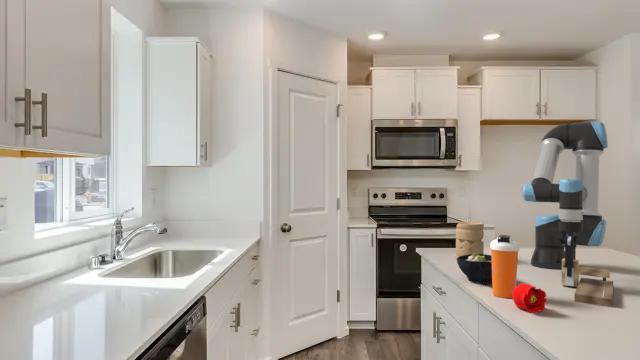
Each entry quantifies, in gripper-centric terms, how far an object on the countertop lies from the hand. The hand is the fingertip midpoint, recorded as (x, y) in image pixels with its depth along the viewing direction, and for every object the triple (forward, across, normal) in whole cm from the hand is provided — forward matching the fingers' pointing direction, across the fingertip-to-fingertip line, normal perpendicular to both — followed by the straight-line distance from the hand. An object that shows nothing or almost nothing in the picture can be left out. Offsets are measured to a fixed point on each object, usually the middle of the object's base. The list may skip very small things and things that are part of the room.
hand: (570, 283), depth 156 cm
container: (+1, +27, +44) cm, 52 cm away
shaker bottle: (+1, -28, +17) cm, 33 cm away
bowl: (+1, -12, +29) cm, 31 cm away
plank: (+1, -8, -8) cm, 11 cm away
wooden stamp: (0, 0, -5) cm, 5 cm away
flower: (+1, -40, +8) cm, 41 cm away
